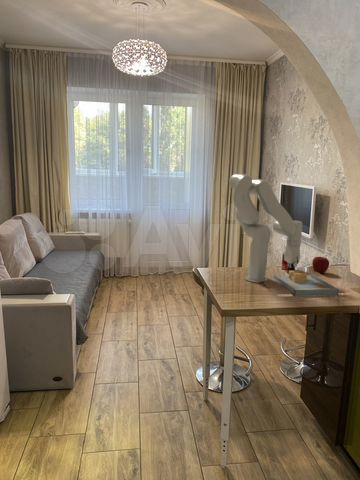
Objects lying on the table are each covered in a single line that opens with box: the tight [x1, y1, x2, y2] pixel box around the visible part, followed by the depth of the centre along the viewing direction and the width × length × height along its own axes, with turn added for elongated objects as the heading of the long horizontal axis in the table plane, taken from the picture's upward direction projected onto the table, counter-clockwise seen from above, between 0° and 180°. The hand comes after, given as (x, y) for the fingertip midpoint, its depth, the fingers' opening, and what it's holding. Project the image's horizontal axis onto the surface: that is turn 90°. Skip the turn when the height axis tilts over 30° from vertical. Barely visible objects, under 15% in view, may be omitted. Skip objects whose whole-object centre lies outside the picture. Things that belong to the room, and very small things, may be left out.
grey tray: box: [272, 273, 340, 297], centre depth 192 cm, size 26×23×3 cm
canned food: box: [281, 251, 296, 272], centre depth 221 cm, size 8×8×11 cm
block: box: [287, 269, 308, 282], centre depth 199 cm, size 7×7×4 cm
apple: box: [311, 256, 330, 274], centre depth 219 cm, size 10×10×10 cm
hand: (290, 274), depth 208 cm, fingers closed
